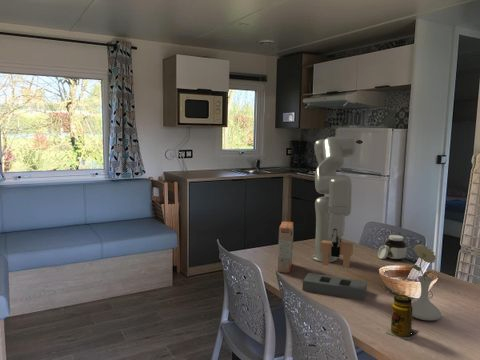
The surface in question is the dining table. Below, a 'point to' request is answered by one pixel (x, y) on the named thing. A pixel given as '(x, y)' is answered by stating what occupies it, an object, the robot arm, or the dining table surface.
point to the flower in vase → (424, 288)
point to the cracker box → (285, 247)
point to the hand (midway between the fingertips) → (336, 254)
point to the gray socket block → (335, 286)
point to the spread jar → (393, 249)
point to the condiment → (402, 317)
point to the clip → (345, 250)
